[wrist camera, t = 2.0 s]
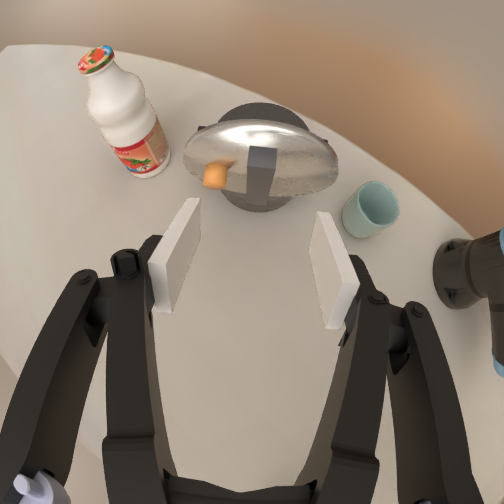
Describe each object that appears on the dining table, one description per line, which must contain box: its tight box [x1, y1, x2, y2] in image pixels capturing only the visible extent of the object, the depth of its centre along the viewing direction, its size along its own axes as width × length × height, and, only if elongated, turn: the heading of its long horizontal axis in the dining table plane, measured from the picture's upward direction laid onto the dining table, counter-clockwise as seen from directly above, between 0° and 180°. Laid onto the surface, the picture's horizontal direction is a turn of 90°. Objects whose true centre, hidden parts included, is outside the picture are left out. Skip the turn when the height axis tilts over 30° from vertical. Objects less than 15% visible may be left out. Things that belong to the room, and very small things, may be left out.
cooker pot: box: [197, 103, 328, 212], centre depth 44 cm, size 15×20×12 cm
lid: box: [183, 119, 338, 205], centre depth 28 cm, size 16×16×3 cm
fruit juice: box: [78, 46, 170, 178], centre depth 37 cm, size 9×9×28 cm
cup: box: [342, 181, 399, 238], centre depth 44 cm, size 8×8×10 cm
